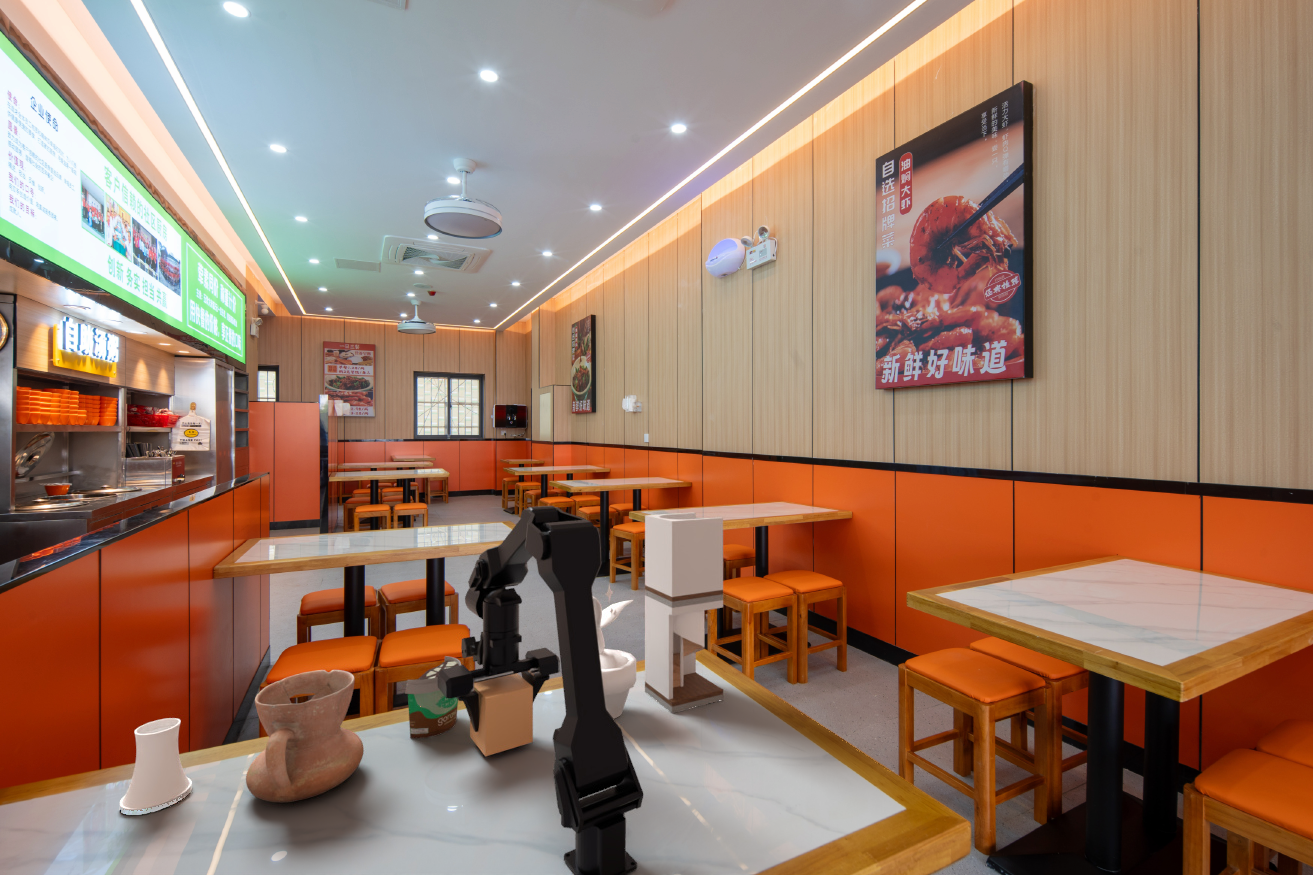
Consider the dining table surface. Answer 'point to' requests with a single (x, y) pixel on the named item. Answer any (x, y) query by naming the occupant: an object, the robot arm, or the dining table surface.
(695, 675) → the white coffee grinder
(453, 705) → the food container
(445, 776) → the dining table surface
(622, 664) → the potted plant
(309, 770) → the ceramic jug
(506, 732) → the tan wooden brick
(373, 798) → the dining table surface
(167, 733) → the vase
